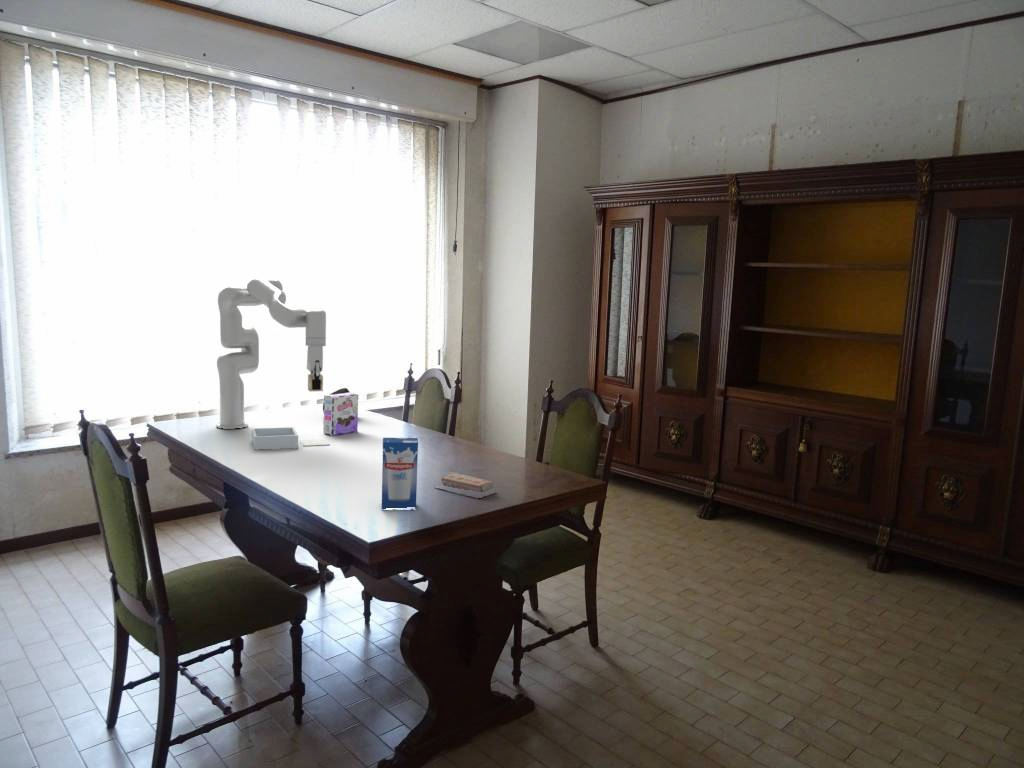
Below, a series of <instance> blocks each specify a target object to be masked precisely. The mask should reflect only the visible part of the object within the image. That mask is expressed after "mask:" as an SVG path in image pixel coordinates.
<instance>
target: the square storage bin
mask: <svg viewBox="0 0 1024 768" xmlns="http://www.w3.org/2000/svg"><path fill="white" fill-rule="evenodd" d="M251 443H252V445H254V446H253V449H254V450H255V449H256V450H255V451H258V450H257V449H272V450H281V449H280V448H294V449H299V434H298V432H297V431H296V429H295V427H293V426H289V427H288V426H287V427H259V428H255V427H254V428H251Z"/></svg>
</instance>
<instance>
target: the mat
mask: <svg viewBox="0 0 1024 768" xmlns="http://www.w3.org/2000/svg"><path fill="white" fill-rule="evenodd" d="M299 441H301V442H300V443H301V445H302V447H317V446H316V445H325V446H330V442H329V441H328V439H327V438H310V439H299Z"/></svg>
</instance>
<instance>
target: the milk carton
mask: <svg viewBox="0 0 1024 768" xmlns="http://www.w3.org/2000/svg"><path fill="white" fill-rule="evenodd" d="M418 449H419V439H418V437H383V438H382V470H381V471H382V473H381V474H382V476H381V479H382V481H381V482H382V483H381V510H382V509H386V508H407V507H416V508H417V488H418V487H417V486H418V484H417V482H418V459H419V458H418V455H419V450H418Z"/></svg>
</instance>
